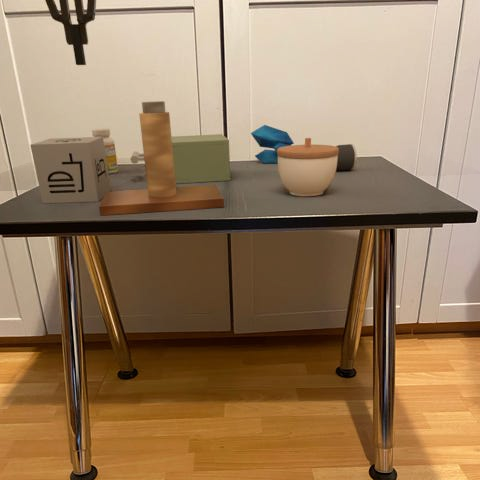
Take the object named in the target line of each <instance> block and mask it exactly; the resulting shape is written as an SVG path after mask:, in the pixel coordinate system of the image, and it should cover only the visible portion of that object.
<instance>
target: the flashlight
mask: <svg viewBox="0 0 480 480" xmlns="http://www.w3.org/2000/svg"><path fill="white" fill-rule="evenodd" d="M335 146H336V147H338V148H339V154H338V161H337V168H336V171H339V172H341V171H352V170H354V169H355V167H356V165H357V149H356V146H355V145H354V144H353V143H349V144H348V143H347V144H338V145H335Z"/></svg>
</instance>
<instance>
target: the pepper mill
mask: <svg viewBox="0 0 480 480" xmlns="http://www.w3.org/2000/svg"><path fill="white" fill-rule="evenodd" d="M141 109H142V112H140V113H138V116H139V124H140V125H139V126H140V134H141V143H142V151H143V154H144V168H145V175H146V176H145V177H146V186H147V189H148V195H149V196H150V197H155V198H162V197H170V196H174V195H176V187H177V184H176V182H175V171H174V160H173V148H172V137H173V136H172V128H171V116H170V111H166V102H165V101H163V100H154V101H153V100H152V101H142V102H141Z"/></svg>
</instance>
